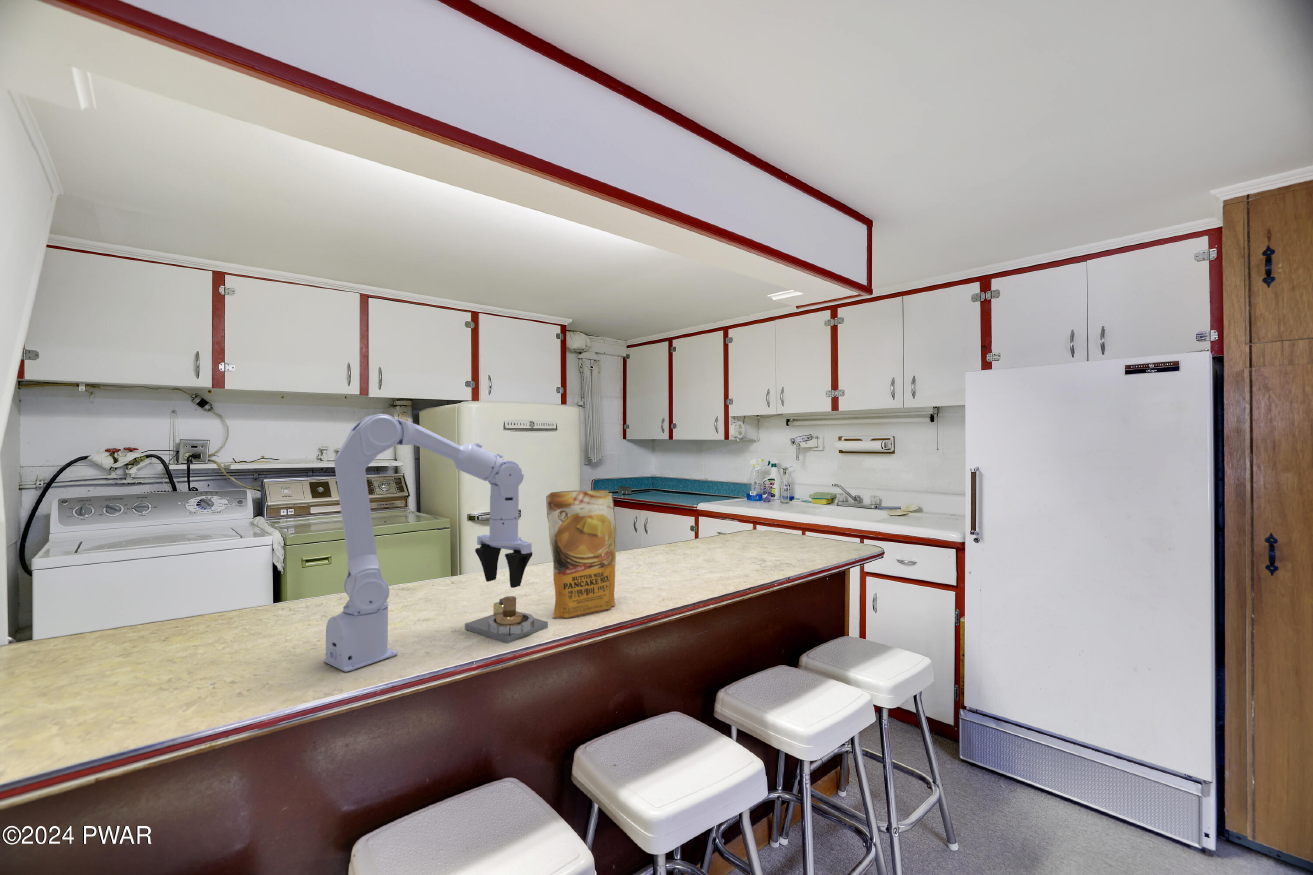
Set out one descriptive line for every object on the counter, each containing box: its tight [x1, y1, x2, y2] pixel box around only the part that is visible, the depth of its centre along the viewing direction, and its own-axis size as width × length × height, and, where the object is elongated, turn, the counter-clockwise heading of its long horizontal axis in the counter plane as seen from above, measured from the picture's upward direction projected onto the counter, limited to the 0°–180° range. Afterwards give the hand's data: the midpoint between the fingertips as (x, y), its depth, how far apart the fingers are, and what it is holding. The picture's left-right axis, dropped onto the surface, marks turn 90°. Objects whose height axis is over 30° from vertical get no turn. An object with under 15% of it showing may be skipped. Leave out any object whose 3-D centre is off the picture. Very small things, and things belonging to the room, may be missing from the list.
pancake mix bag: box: [545, 489, 617, 619], centre depth 128 cm, size 7×19×28 cm, turn 126°
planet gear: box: [496, 595, 522, 625], centre depth 113 cm, size 5×5×6 cm
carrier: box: [464, 597, 549, 644], centre depth 116 cm, size 11×14×5 cm
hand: (503, 583), depth 114 cm, fingers open, 7 cm apart
